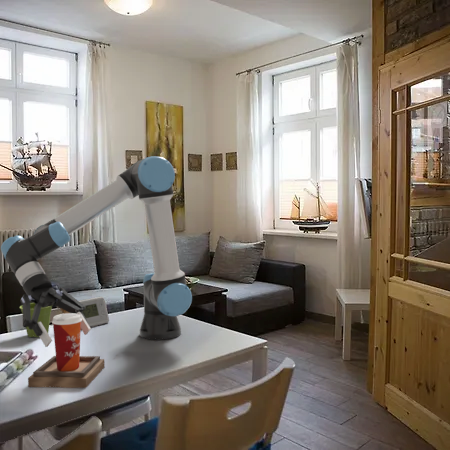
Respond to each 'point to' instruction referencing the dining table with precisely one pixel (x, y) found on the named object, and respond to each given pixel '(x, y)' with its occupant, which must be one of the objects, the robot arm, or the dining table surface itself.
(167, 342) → the dining table surface
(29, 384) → the walnut base plate
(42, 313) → the plant pot
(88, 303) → the digital clock
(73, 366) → the coffee cup
